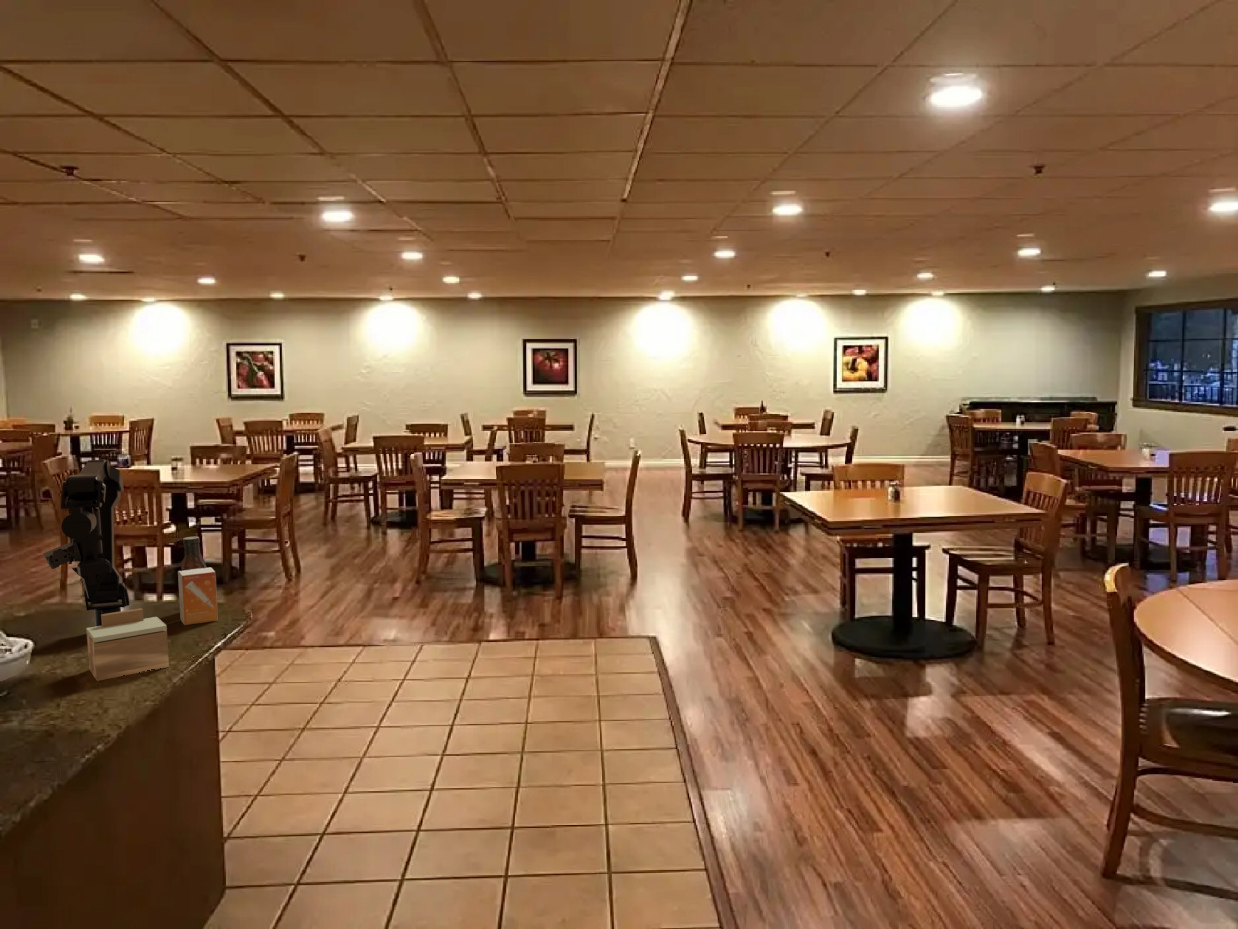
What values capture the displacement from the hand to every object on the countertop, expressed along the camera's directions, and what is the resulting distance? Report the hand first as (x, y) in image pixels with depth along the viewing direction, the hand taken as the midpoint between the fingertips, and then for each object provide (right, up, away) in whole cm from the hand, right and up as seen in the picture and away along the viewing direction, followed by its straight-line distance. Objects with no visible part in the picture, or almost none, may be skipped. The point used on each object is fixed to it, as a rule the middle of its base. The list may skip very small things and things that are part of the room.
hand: (91, 598), depth 213 cm
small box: (+12, -10, +28) cm, 32 cm away
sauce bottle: (+7, -9, +38) cm, 39 cm away
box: (+13, -14, -8) cm, 21 cm away
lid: (+13, -6, -9) cm, 17 cm away
